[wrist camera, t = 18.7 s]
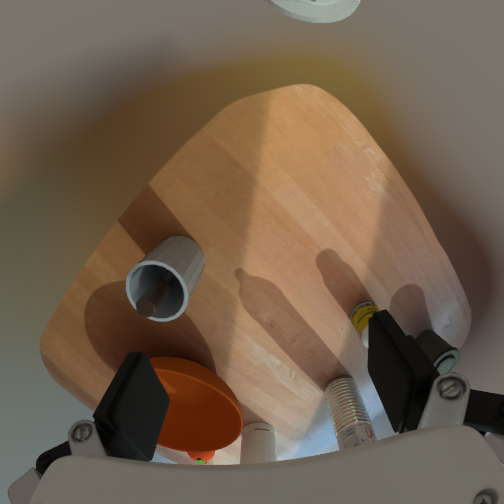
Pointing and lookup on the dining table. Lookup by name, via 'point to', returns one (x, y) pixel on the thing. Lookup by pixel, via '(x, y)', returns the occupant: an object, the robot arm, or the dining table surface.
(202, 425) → the bowl
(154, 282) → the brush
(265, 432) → the bottle
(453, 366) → the coffee cup
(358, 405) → the water bottle
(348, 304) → the dining table surface
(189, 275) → the grey utensil holder
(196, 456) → the clementine
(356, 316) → the supplement bottle
